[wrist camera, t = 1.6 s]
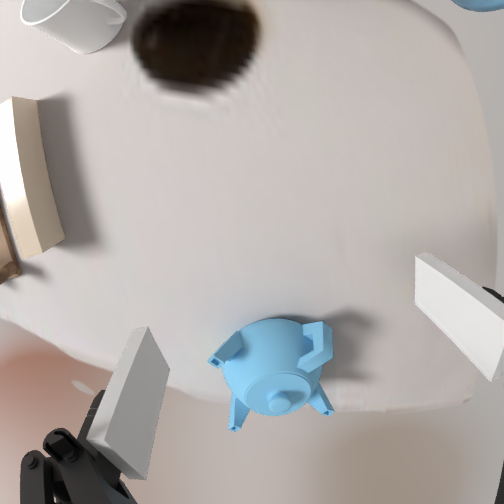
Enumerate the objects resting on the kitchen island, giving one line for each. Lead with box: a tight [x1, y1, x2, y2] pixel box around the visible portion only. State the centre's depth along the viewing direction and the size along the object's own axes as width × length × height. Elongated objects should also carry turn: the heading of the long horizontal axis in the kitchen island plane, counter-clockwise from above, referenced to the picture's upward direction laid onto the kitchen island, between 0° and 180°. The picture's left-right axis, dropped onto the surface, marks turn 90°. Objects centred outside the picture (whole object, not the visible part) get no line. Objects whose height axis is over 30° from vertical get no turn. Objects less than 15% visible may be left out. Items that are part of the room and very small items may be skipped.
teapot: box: [207, 319, 335, 432], centre depth 35 cm, size 15×15×11 cm
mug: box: [20, 0, 127, 54], centre depth 18 cm, size 12×8×12 cm
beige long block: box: [0, 97, 66, 259], centre depth 27 cm, size 20×4×6 cm, turn 11°
